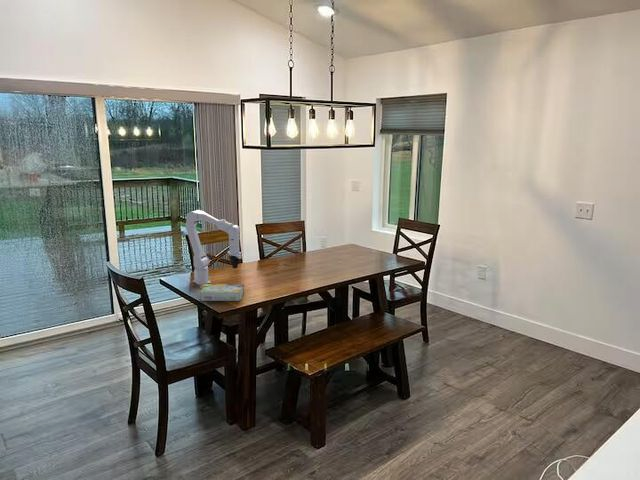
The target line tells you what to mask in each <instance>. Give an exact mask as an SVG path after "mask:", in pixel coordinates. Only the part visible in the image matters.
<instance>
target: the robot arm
mask: <svg viewBox="0 0 640 480" xmlns="http://www.w3.org/2000/svg"><path fill="white" fill-rule="evenodd" d="M185 219H186V220H185V224H184V225H185V230H186V233H187V236H188V238H189V242H190V245H191V248H192V253H193V257H192V259H193V267H194V269H193V278H194V279H193V280H192V282H193V283H195V284H196V285H199V286H201V285H203V284H212V282H211V281H210V280H209V264H210V257H208V256H207V253H205V252H204V250H203V247H202V243H201V239H200V237H199V234H198V231H197V228H196V226H197V225H198V223H199V222H200V221H205V222H208V223H210V224H213V225H215V226H216V227H217V229H219V230H221V231H223V232H225V233H226V234H227V235H228V244H229V245H228V246H229V248H228V250H227V255H230V256H228V258H229V260H230V263H231V266H232V267H231V268H232V269H233V270H234V269H235V270H236V269H238V266H239V262H240V260H241V259H242V258H243V255H242V252H241V251H240V234H239V233H240V232H241V227H240V226H239V225H237V224H233V223H232V222H231V223H230V222H229V221H226V219H217V218H215V216H212V215H210V214H209V213H206V212H205V211H204V210H201V209H196V210H193V211H189V212H188V213H187V214H186V216H185Z"/></svg>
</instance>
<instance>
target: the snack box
mask: <svg viewBox="0 0 640 480" xmlns="http://www.w3.org/2000/svg"><path fill="white" fill-rule="evenodd" d="M244 289H245V288H244V283H207V284H206V285H205V286H204V288H203V289H201V290H200V291H199V294H200V301H201V302H208V301H209V302H218V301H219V302H221V301H224V302H227V301H228V302H235V301H236V302H240V301H241V300H242V298H243V295H244V293H245V290H244Z"/></svg>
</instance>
